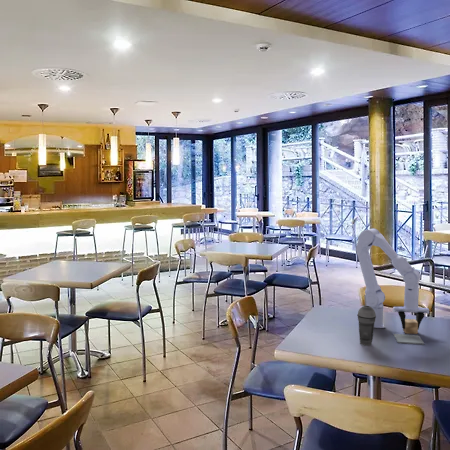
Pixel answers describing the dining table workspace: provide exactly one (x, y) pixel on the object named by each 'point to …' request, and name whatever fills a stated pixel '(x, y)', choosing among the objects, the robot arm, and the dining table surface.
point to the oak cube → (411, 326)
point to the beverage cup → (366, 324)
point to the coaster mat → (408, 339)
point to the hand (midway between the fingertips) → (410, 328)
